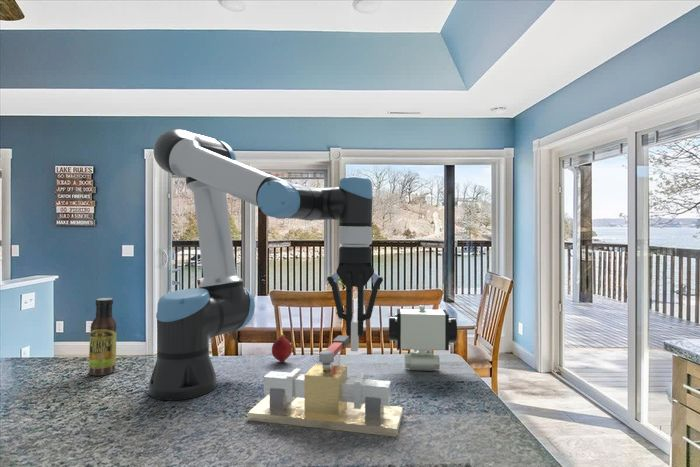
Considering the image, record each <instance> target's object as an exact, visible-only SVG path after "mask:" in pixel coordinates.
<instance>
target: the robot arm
mask: <svg viewBox="0 0 700 467" xmlns="http://www.w3.org/2000/svg"><path fill="white" fill-rule="evenodd" d="M153 156H154V159H155V162H156V163H157V165H158V167H160V168H161V169H162V170H163V171H165V172H167V173H169V174H173V175H175V176H177V177H179V178H184V179H185V183H186V184H185V185H186V188H187V189H188V190H189V191H191V192H192V196H193V201H194V202H193V204H194V211H195V218H196V226H197V232H198V235H197V236H198V244H199V251H200V252H199V253H200V260H201V268H202V275H203V276H202V277H203V279H202V282H200V284H199V285H198V287H193V288H185V289H179V290H173V291H171V292H167V293H165V294H163V295H162V296H161V297H159V299H158V302H157V306H156V308H157V310H156V314H155V318H156V328H157V329H156V332H157V333H156V351H157V352H156V361H155V364H154V367H153V371H152V373H151V377H150V380H149V383H148V395H149V397H151V398H153V399H156V400H160V401H180V400H188V399H194V398H197V397H200V396H204V395H206V394H207V393H210V392H211V391H213V390H214V389H216V387H217V374H216V371H215V369H214V366H213V362H212V358H211V357H210V352H209V351H210V349H209V348H210V339H212V338H215V337H219V336H222V335H225V334H227V333H234V332H236V331H238V330H240V329H242V328H245V327H246V326H248V325H249V323H250V321H251V320H252V318H253V316H254V314H255V310H256V309H255V308H256V305H255V299H254V296H253V294H252V293H251V292H250V290H249V289H248V288H246V287H244V281H243V280H244V279H242V278H241V277H240V276H238V275H237V269H236V261H235V254H234V245H233V237H232V236H233V235H232V228H231V222H230V214H229V213H230V212H229V206H228V205H229V204H228V198H227V194H228V195H230V196H233V197H235V198H237V199H239V200H241V201H243V202H247V203H248V204H251V205H252V206H255V207H258V208H259V209H260V210H261V212H262V213H263V214H264V215H266V216H267V217H271V218H275V219H277V220H285V219H293V220H295V219H298V220H302V221H303V220H304V221H311V222H312V221H324V220H325V221H326V220H327V221H328V220H333V221H335V220H336V221H337V220H338V244H339V245H341V246H340V247H339V248H338V266H337V268H336V272H334V273H333V274H332V275H329V276H327V278H326V281H327V282H328V284H329V286H330V288H331V292H332V295H333V300H334V304H335V310H336V312H337V316H338V318H339V319H342V320H344V321H345V333H346V336H350V351H351V352H358V351H359V342H360V340H359V337H361V336H363V334H364V321H367V320H370V319H371V318H372V314H373V310H374V307H375V302H376V300H377V299H376V298H377V295H378V291H379V288H380V286H381V285H382V283H383V281H384V277H383V276H380V275H378V274H377V273H375V269H374V268H373V258H372V257H373V248H372V247H371V246H370V245H372V244H373V200H374V196H373V183H372V181H371V179H369V178H367V177H363V176H346V177H341V178H340V179H339V183H338V186H336V187H315V186H308V185H304V184H303V185H302V184H297V183H293V182H289V181H287V180H284V179H283V178H280V177H276V176H274V175H272V174H269V173H266V172H265V171H262V170H259V169H257V168H254V167H252V166H250V165H247V164H244V163H241V162H239V161H237V157H236V154H235V151H234V150H233V148H232V147H231V146H230V144H228V143H226V142H225V141H222V140H220V139H218V138H215V137H213V136H206V135H201V134H198V133H194V132H191V131H187V130H184V129H171V130H167V131H165V132H163V133H162V134H161V135H159V136H158V137H157V139H156V140H155V143H154V145H153ZM371 279H372V280H371ZM339 280H341V282H342V284H344V286H345V292H346V293H345V296H346V297H345V309H344V304H343V300H342V297H341V296H342V295H341V290H340V288H339V284H338V282H339ZM370 280H371V282H372V284H373V286H372V289H371V292H370V297H369V301H368V304H367V309H366V312H365V302H364V301H365V299H364V298H365V295H364V294H365V292H364V291H365V287H366V285H367V284H368V282H369V281H370ZM354 287H356V288H357V289H356V290H357V312H356V314H357V319H353V318H354V317H353V305H354V304H353V302H354V301H353V300H354V299H353V293H354V292H353V291H354ZM364 312H365V313H364Z"/></svg>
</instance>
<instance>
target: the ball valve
mask: <svg viewBox="0 0 700 467" xmlns="http://www.w3.org/2000/svg"><path fill="white" fill-rule="evenodd" d="M418 307H419V309H418V308H416V309H415V308H414V309H413V308H410V309H409V308H397V309H396V313H395V314H394V315H388V341H389V342H391V341H392V342H395V343H394V344H396V347H397V348H396V349H397V350H413V352H409V353H404V368H405V369H406V370H407V369H408V370H409V369H410V371H421V372H422V371H426V372H434V371H435V370H436V371H437V370H440V366H441V363H440V362H441V361H440V355H438V354H434V352H433V353H432V351H450V348H449V347H450V346H451V344H452V343H457V339H458V323H457V318H456V317H454V316H450V313H448V311H447V310H446V309H426V308H425V307H426V306H425V305H424V304H423V305H422V304H420V305H418Z"/></svg>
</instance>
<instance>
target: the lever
mask: <svg viewBox="0 0 700 467" xmlns="http://www.w3.org/2000/svg"><path fill="white" fill-rule="evenodd" d="M349 344H350V335H340V334H339V335H337V336H336V337H335V338H334V339H333V340H332V343H331V344H330V345H329V346H328V347H327V348H326V349H325V350H322V351H319V353H318V362H319V363H320V364H323V363H330V364H331V363H333V362H335V360H334V359H335V357H336V356H337V355H338V354H339V352H340V351H341V350H345V349H346V348H347V346H349Z"/></svg>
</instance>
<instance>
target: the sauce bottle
mask: <svg viewBox="0 0 700 467" xmlns="http://www.w3.org/2000/svg"><path fill="white" fill-rule="evenodd" d="M113 304H114V299H113V298H112V297H100V298H96V299H95V308H96V309H95V318H94V319H93V321H92V322H91V323H90V331H89V347H88V348H89V350H88V351H89V352H88V354H89V355H88V368H89V369H88V371H89V372H88V373H89V374H90V375H91V376H105V375H106V376H107V375H110V374H112V373H114V372H115V370H116V362H117V334H118V333H117V322H116V320H115V318H114V317H113Z"/></svg>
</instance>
